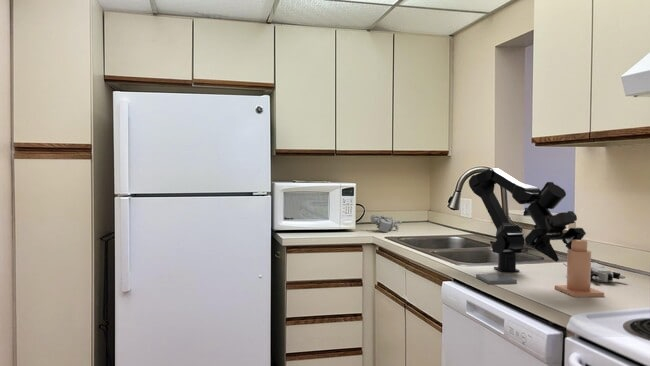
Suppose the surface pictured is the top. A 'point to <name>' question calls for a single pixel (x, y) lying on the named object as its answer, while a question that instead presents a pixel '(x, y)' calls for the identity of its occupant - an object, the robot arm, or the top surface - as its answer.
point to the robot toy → (602, 273)
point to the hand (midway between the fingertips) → (570, 260)
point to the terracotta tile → (579, 292)
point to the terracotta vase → (578, 266)
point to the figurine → (385, 223)
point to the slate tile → (496, 278)
